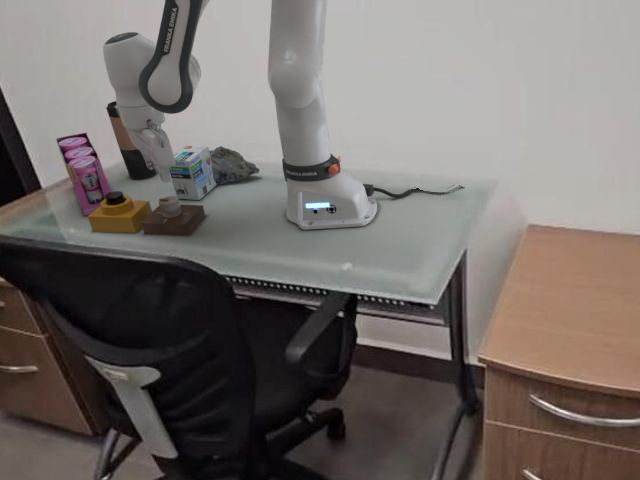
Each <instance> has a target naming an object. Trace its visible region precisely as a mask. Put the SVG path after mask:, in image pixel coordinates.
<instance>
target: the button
mask: <svg viewBox="0 0 640 480" xmlns="http://www.w3.org/2000/svg"><path fill="white" fill-rule="evenodd" d="M124 195H125V194H124V193H123V191H121V190H119V191H118V190H114V191H111V192H110V193H108V194H106V195H105V199H106V201H107V204H108V205H118V204H121V203H123V202H125V198H124Z"/></svg>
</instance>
